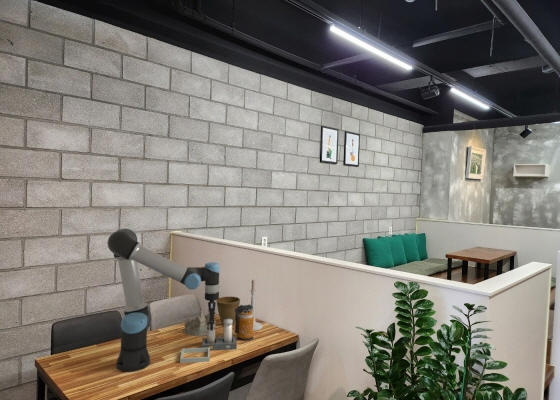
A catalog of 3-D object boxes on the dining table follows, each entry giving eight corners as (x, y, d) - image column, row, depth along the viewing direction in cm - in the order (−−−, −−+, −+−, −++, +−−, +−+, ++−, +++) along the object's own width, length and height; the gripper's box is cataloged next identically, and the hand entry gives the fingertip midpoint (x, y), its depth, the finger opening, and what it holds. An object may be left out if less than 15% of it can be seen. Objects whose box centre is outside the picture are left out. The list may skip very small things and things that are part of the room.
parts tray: (180, 365, 183) (180, 358, 183) (182, 354, 195) (182, 348, 195) (209, 363, 186) (209, 357, 186) (209, 353, 198) (209, 347, 198)
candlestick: (248, 332, 229) (249, 282, 228) (238, 325, 239) (239, 278, 239) (266, 328, 236) (267, 280, 235) (256, 322, 246) (257, 276, 246)
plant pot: (231, 319, 251) (231, 295, 251) (244, 325, 240) (244, 300, 240) (211, 323, 242) (212, 298, 242) (223, 330, 230) (224, 304, 230)
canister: (255, 341, 215) (256, 306, 214) (236, 343, 210) (237, 308, 210) (250, 335, 223) (251, 302, 222) (232, 338, 219) (233, 303, 218)
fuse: (223, 347, 202) (223, 321, 202) (223, 344, 207) (223, 318, 207) (232, 347, 203) (232, 321, 203) (231, 343, 208) (232, 318, 208)
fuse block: (201, 352, 198) (202, 345, 198) (202, 345, 208) (202, 337, 208) (236, 351, 201) (236, 343, 201) (235, 343, 211) (235, 336, 211)
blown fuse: (206, 348, 201) (206, 322, 200) (206, 344, 205) (206, 319, 205) (215, 348, 202) (215, 322, 201) (215, 344, 206) (215, 319, 206)
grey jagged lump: (219, 332, 226) (217, 307, 226) (195, 341, 214) (194, 314, 214) (204, 327, 237) (202, 303, 237) (180, 335, 225) (179, 309, 225)
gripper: (219, 298, 191) (219, 339, 192) (218, 285, 216) (218, 322, 216) (204, 298, 190) (203, 340, 191) (205, 286, 215) (204, 323, 215)
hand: (211, 331), depth 203 cm, fingers open, 13 cm apart
